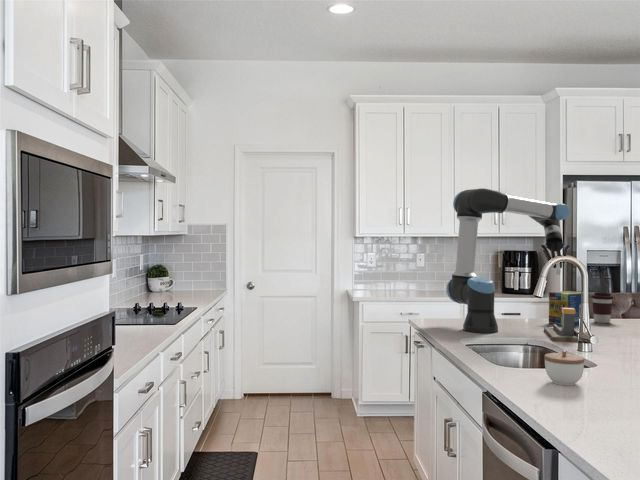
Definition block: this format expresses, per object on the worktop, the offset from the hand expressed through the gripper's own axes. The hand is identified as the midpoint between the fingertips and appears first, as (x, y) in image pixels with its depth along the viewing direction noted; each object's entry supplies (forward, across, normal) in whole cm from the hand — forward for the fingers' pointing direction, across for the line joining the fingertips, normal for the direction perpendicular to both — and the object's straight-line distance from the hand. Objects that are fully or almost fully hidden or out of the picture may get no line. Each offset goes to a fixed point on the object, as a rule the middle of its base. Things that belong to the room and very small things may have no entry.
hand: (558, 272), depth 267 cm
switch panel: (+33, 0, -4) cm, 33 cm away
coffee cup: (-2, -25, -39) cm, 46 cm away
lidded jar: (+94, +14, +56) cm, 110 cm away
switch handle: (+36, 0, +2) cm, 37 cm away
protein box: (+6, -7, -31) cm, 33 cm away
